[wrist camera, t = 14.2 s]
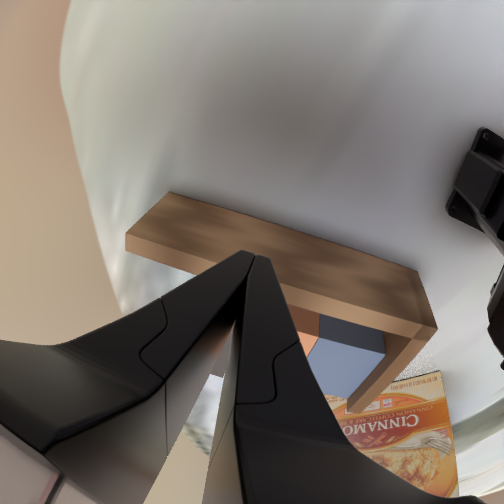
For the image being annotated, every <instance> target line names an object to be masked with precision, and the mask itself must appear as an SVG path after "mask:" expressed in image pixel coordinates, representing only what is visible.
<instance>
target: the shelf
mask: <svg viewBox="0 0 504 504" xmlns="http://www.w3.org/2000/svg"><path fill="white" fill-rule="evenodd" d="M239 250H246V251H249V252H252V253H254V254H255V256H256V255H257V254H259V255H262V256H266V257H269V258H270V259H271V261H272V264H273V266H274V269H275V272H276V275H277V277H278V280H279V283H280V286H281V288H282V291H283V294H284V296H285V299H286V302H287V304H290V305H294V306H297V307H300V308H304V309H307V310H311V311H314V312H317V313H321V314H324V315H328V316H331V317H335V318H338V319H342V320H345V321H349V322H353V323H356V324H360V325H363V326H367V327H371V328H374V329H378V330H382V331H383V338H384V345H385V352H386V355H385V356H384V358H383V359H382V360H381V361H380V362H379V364H378V365H377V366H376V367H375V368H374V370H373V371H372V372H371V373H370V374H369V375H368V377H367V378H366V379H365V380H364V381H363V382H362V383H361V384H360V386H359V387H358V388H357V389H356V390H355V391H354V392H353V393H352V394H351V396H350V397H349V398H348V399H347V412H351V413H357V414H360V413H361V412H362V411H363V410H365V409H366V408H367V407H368V406H369V405H370V404H371V403H372V402H373V401H374V400H375V399H376V398H377V397H378V396H379V395H380V394H381V393H382V392H383V391H384V390H385V389H386V388H387V387H388V386H389V385H390V384H391V383H392V382H393V381H394V379H395V378H396V377H397V376H398V375H399V374H400V373H401V372H402V371H403V370H404V369H405V368H406V366H407V365H408V364H409V363H410V362H411V361H412V360H413V359H414V357H415V356H416V355H417V354H418V353H419V352H420V350H421V349H422V348H423V347H424V346H425V344H426V343H427V342H428V341H429V340H430V338H431V337H432V336H433V335H434V333H435V332H436V331H437V330H438V328H437V325H436V322H435V319H434V316H433V313H432V310H431V307H430V304H429V301H428V298H427V296H426V293H425V290H424V287H423V285H422V282H421V280H420V277H419V274H418V272H417V271H414V270H412V269H409V268H406V267H403V266H400V265H397V264H395V263H392V262H389V261H386V260H383V259H380V258H377V257H374V256H371V255H369V254H366V253H363V252H360V251H357V250H354V249H351V248H348V247H345V246H342V245H339V244H336V243H333V242H330V241H327V240H324V239H321V238H317V237H314V236H311V235H308V234H305V233H302V232H299V231H296V230H293V229H289V228H286V227H283V226H280V225H277V224H274V223H270V222H267V221H264V220H261V219H257V218H254V217H251V216H248V215H244V214H241V213H238V212H234V211H231V210H228V209H224V208H221V207H218V206H214V205H211V204H208V203H204V202H201V201H197V200H194V199H190V198H187V197H184V196H180V195H177V194H173V193H169V192H168V193H167V194H166V195H165V196H164V197H163V198H162V199H161V200H160V201H159V202H158V203H156V204H155V205H154V206H153V207H152V208H151V209H150V210H149V211H148V212H147V213H146V214H145V215H144V216H143V217H142V218H141V219H140V220H139V221H137V222H136V223H135V224H134V225H133V226H132V227H131V228H130V229H129V230H128V231H127V232H126V242H125V251H128V252H131V253H134V254H137V255H139V256H142V257H145V258H148V259H151V260H154V261H157V262H160V263H162V264H165V265H168V266H171V267H174V268H177V269H180V270H183V271H186V272H189V273H192V274H195V275H198V274H200V273H202V272H204V271H205V270H207V269H209V268H210V267H212V266H214V265H215V264H217V263H219V262H221V261H222V260H224V259H226V258H227V257H229V256H231V255H232V254H234V253H236V252H238V251H239Z"/></svg>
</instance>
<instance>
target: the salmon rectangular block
mask: <svg viewBox="0 0 504 504" xmlns="http://www.w3.org/2000/svg"><path fill="white" fill-rule="evenodd" d="M287 305H288V307H289V310H290V313H291V316H292V319H293V321H294V324H295V327H296V330H297V332H298V335H299V338H300V342H301V343H302V346H303V349H304V352H305V354H306V357H307V356H308V354H309V353H310V351H311V349H312V348H313V346H314V344H315V343H316V341H317V339H318V338H319V319H320V313H317V312H314V311H311V310H307V309H304V308H300V307H297V306H294V305H290V304H287Z"/></svg>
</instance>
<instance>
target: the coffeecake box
mask: <svg viewBox="0 0 504 504" xmlns="http://www.w3.org/2000/svg"><path fill="white" fill-rule="evenodd" d="M324 396H325V398H326V400H327V402H328V404H329V406H330V408H331V409H332V411H333V413H334V415H335V417H336V419H337V421H338V423H339V425H340V427H341V429H342V430H343V432H344V434H345V435H346V437H347V438H348V440H349V441H350V442H351V443H352V445H353V446H354V447H355V448H356V449H357V450H359V451H360V452H361V453H363V454H364V455H366V456H367V457H369V458H370V459H372V460H373V461H375V462H376V463H378V464H380V465H381V466H383V467H384V468H386V469H388V470H389V471H391V472H392V473H394V474H396V475H397V476H399V477H401V478H402V479H404V480H406V481H407V482H409V483H411V484H412V485H414V486H416V487H417V488H419V489H421V490H423V491H425V492H427V493H430V494H433V495H436V496H440V497H446V498H454V497H459V486H458V474H457V464H456V456H455V448H454V441H453V434H452V427H451V421H450V416H449V411H448V405H447V400H446V395H445V390H444V386H443V382H442V377H441V373H440V371H438V372H434V373H430V374H427V375H423V376H419V377H415V378H411V379H406V380H402V381H398V382H393V383H391V384H390V385H389V386H388V387H387V388H386V389H385V390H384V391H383V392H382V393H381V394H380V395H379V396H378V397H377V398H376V399H375V400H374V401H373V402H372V403H371V404H370V405H369V406H368V407H367V408H366V409H365V410H363V411H362V412H361V413H360V414H357V413H351V412H347V399H346V398H342V397H337V396H332V395H327V394H325V395H324Z"/></svg>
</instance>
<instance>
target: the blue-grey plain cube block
mask: <svg viewBox="0 0 504 504" xmlns="http://www.w3.org/2000/svg"><path fill="white" fill-rule="evenodd" d="M385 355H386V352H385V345H384V338H383V331H382V330H378V329H374V328H371V327H367V326H363V325H360V324H356V323H353V322H349V321H345V320H342V319H338V318H335V317H331V316H328V315H324V314H321V313H320V319H319V338H318V339H317V341H316V343H315V344H314V346H313V348H312V349H311V351H310V353H309V354H308V356H307V360H308V362H309V365H310V367H311V370H312V372H313V374H314V376H315V378H316V380H317V382H318V384H319V386H320V388H321V390H322V392H323V394H327V395H332V396H337V397H342V398H346V399H348V398H349V397H350V396H351V394H352V393H353V392H354V391H355V390H356V389H357V388H358V387H359V386H360V384H361V383H362V382H363V381H364V380H365V379H366V378H367V377H368V375H369V374H370V373H371V372H372V371H373V370H374V368H375V367H376V366H377V365H378V364H379V362H380V361H381V360H382V359H383V358H384V356H385Z"/></svg>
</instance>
